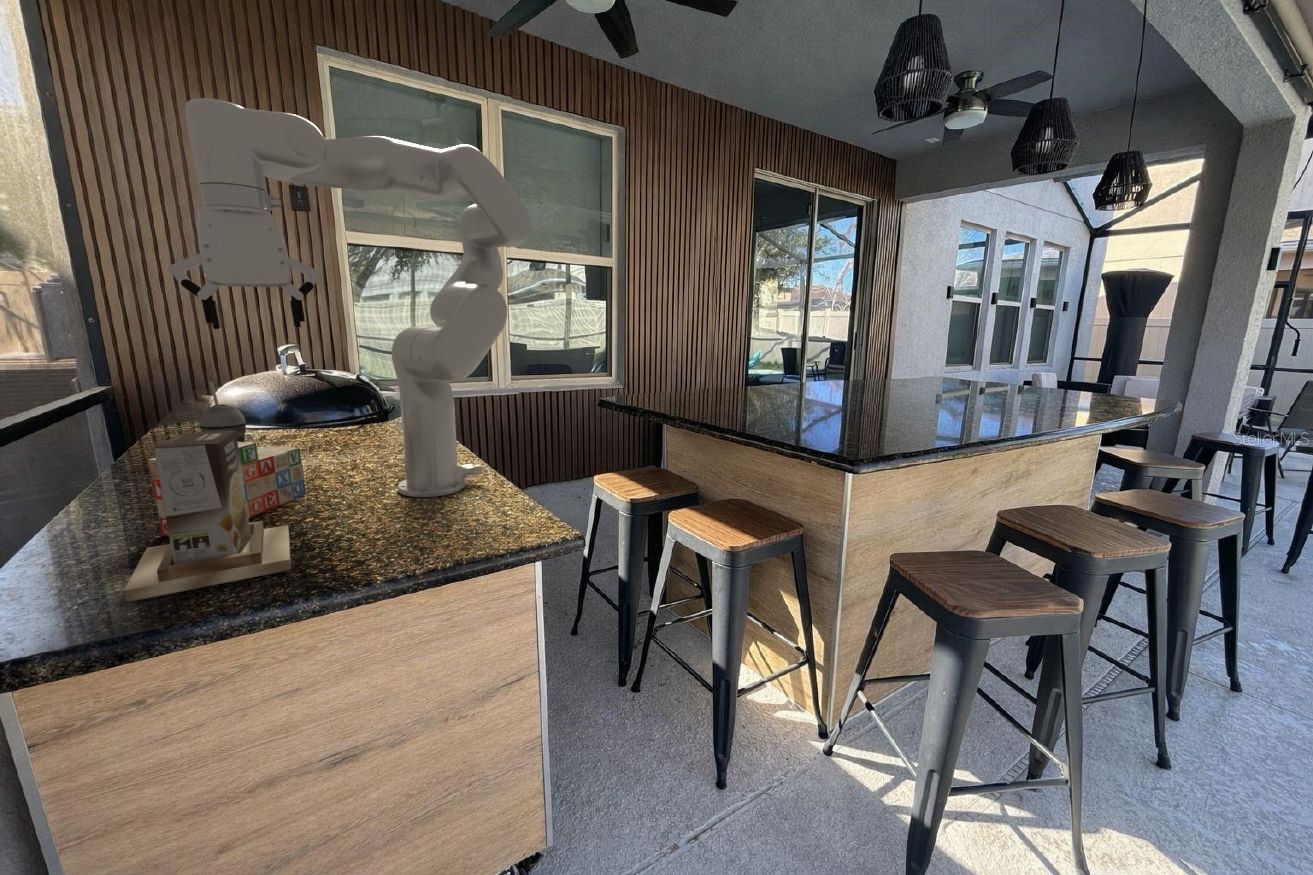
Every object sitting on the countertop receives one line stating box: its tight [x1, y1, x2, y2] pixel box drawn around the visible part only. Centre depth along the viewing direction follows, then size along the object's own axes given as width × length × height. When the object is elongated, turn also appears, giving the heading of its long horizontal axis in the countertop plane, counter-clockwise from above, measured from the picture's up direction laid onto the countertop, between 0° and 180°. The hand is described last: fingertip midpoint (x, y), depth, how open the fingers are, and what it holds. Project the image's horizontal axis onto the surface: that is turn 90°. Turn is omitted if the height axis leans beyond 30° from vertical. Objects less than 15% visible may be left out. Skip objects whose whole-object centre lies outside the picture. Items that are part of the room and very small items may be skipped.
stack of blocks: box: [148, 441, 307, 537], centre depth 89 cm, size 21×6×12 cm, turn 173°
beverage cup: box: [198, 381, 248, 442], centre depth 105 cm, size 7×7×20 cm
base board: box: [123, 520, 292, 603], centre depth 72 cm, size 16×14×3 cm
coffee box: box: [153, 430, 251, 565], centre depth 70 cm, size 9×6×16 cm
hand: (258, 327), depth 79 cm, fingers open, 9 cm apart
